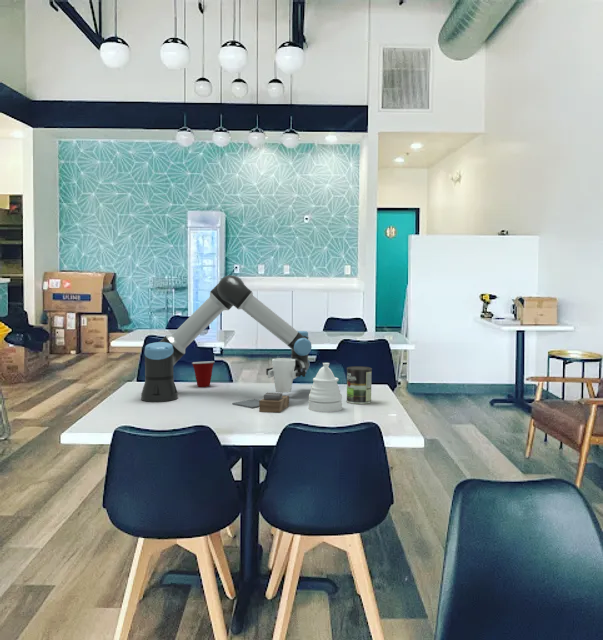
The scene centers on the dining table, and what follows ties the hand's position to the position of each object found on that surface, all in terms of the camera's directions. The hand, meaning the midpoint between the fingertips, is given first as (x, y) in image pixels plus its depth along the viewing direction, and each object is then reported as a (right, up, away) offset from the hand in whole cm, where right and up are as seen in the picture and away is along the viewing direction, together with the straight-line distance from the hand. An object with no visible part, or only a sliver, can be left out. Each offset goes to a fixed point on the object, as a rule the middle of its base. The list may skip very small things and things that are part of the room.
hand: (280, 375), depth 246 cm
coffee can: (+32, -12, +6) cm, 35 cm away
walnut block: (-2, -12, -8) cm, 15 cm away
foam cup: (+1, -7, +5) cm, 9 cm away
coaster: (-11, -12, +1) cm, 16 cm away
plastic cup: (-38, -10, +46) cm, 61 cm away
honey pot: (+18, -12, -8) cm, 23 cm away
